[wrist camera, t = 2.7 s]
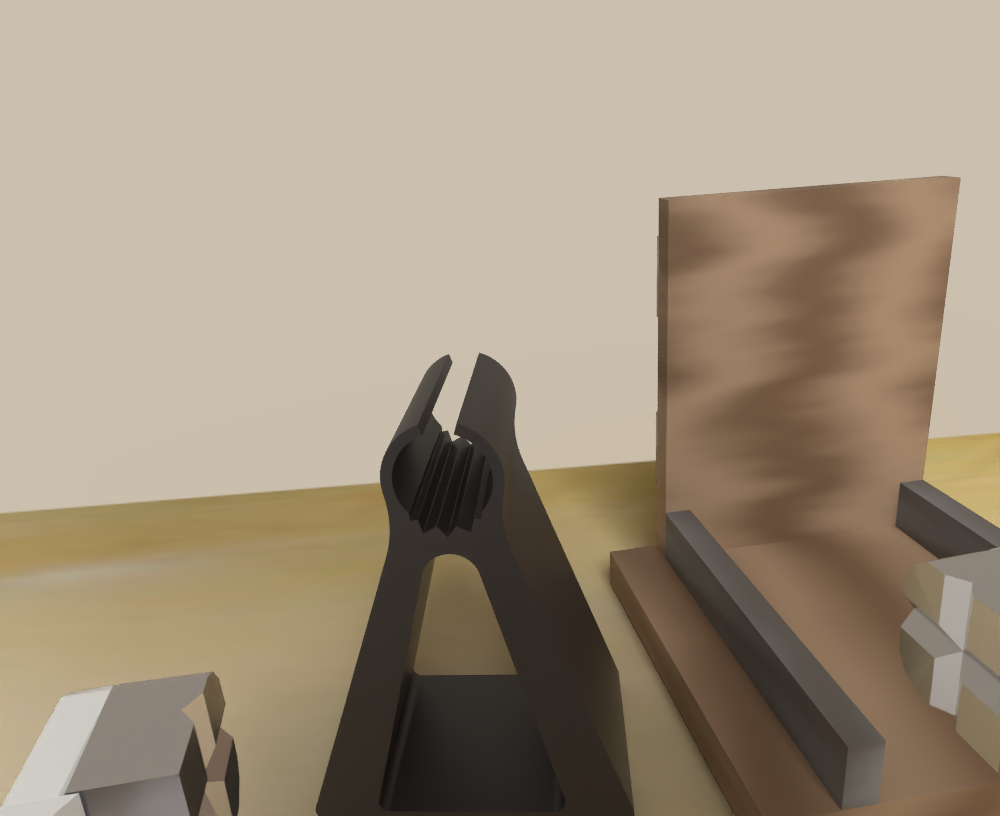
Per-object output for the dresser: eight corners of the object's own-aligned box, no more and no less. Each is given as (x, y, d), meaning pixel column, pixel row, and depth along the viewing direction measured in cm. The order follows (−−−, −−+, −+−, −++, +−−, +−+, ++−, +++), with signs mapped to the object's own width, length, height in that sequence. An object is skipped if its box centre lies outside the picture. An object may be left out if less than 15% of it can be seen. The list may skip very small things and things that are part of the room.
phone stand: (620, 683, 28) (615, 347, 24) (634, 825, 23) (631, 418, 19) (364, 684, 29) (318, 358, 25) (316, 821, 23) (247, 430, 19)
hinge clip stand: (764, 869, 21) (803, 266, 16) (601, 566, 35) (593, 198, 30) (1270, 773, 23) (1453, 207, 18) (920, 523, 37) (965, 170, 32)
